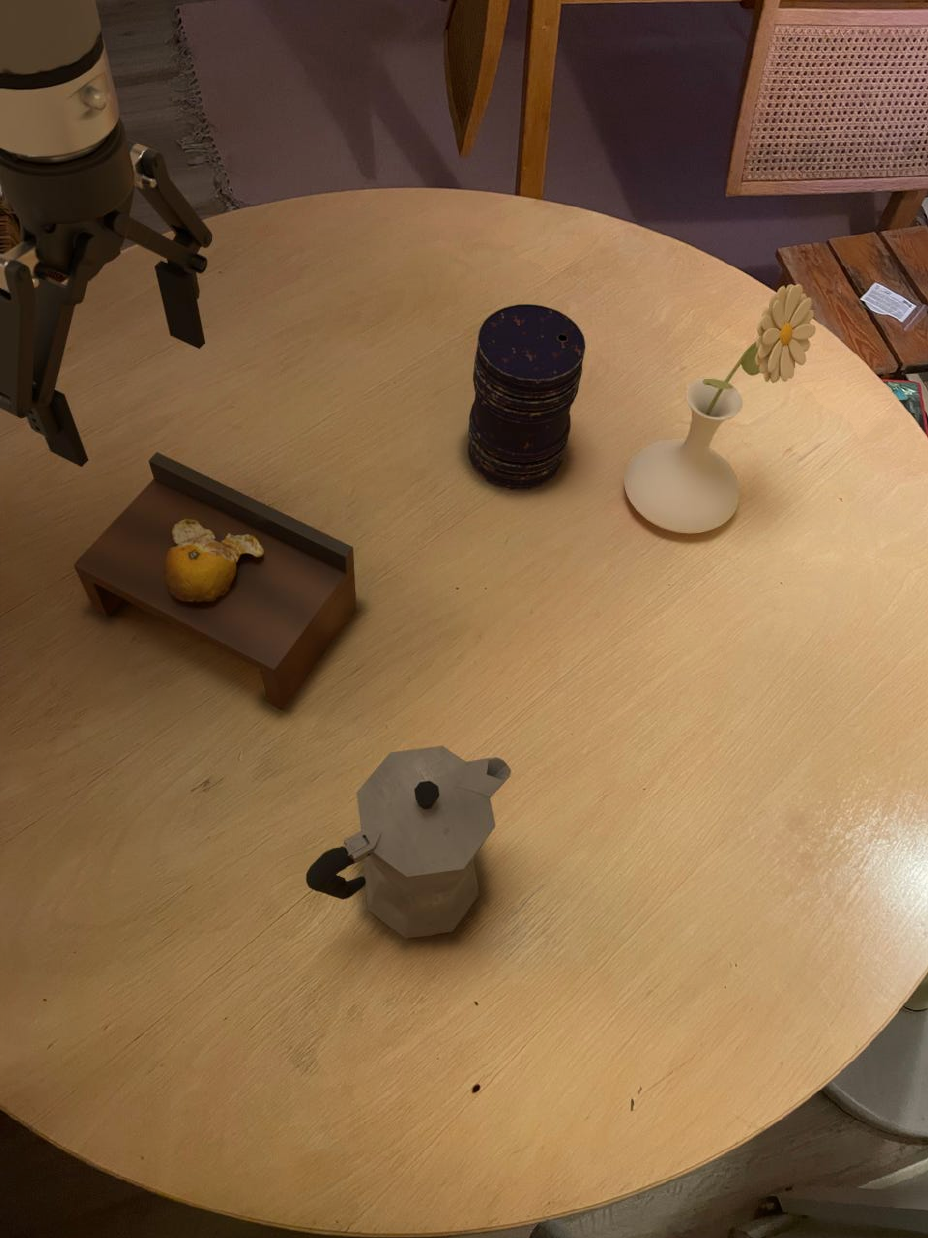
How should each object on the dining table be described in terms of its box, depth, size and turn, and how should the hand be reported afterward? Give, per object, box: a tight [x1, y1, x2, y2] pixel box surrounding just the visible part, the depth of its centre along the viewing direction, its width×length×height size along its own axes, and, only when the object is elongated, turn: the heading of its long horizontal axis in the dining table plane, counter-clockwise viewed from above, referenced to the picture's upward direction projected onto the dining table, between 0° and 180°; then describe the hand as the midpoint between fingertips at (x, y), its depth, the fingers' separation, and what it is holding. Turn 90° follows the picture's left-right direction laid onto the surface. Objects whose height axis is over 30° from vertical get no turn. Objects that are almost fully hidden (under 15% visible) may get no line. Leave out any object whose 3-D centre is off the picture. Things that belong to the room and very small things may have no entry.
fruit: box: [163, 519, 264, 602], centre depth 85 cm, size 8×8×4 cm
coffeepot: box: [305, 745, 512, 939], centre depth 73 cm, size 15×9×18 cm, turn 122°
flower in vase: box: [623, 283, 816, 534], centre depth 93 cm, size 13×11×25 cm
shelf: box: [73, 451, 357, 711], centre depth 89 cm, size 12×20×9 cm, turn 62°
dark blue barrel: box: [467, 303, 586, 491], centre depth 99 cm, size 10×10×15 cm
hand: (131, 395), depth 76 cm, fingers open, 13 cm apart
